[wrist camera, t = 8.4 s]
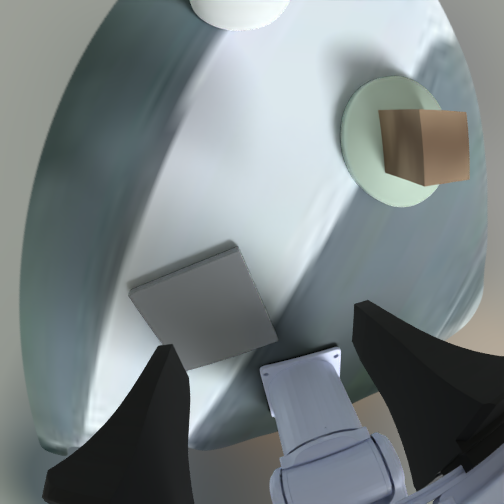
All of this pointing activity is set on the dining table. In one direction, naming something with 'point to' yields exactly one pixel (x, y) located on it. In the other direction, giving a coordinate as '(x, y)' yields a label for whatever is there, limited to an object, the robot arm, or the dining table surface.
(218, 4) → the can
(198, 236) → the dining table surface
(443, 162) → the walnut block
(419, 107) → the sage dish
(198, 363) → the slate coaster
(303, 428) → the robot arm
